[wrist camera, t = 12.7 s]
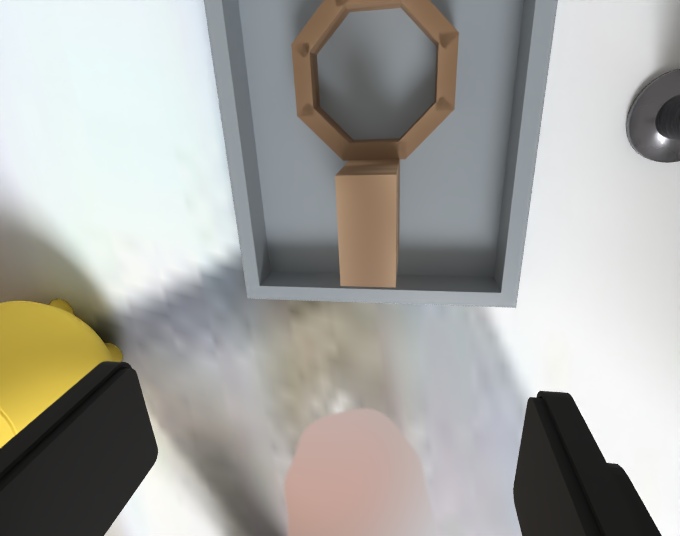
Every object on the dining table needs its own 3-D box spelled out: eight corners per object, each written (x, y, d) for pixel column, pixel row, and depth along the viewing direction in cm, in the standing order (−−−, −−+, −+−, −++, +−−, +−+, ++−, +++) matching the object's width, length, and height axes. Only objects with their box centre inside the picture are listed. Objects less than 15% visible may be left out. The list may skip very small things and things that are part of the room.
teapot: (-54, 321, 39) (-223, 404, 29) (12, 224, 34) (-168, 284, 23) (109, 453, 43) (12, 569, 32) (193, 386, 37) (108, 500, 27)
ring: (458, -20, 22) (477, -65, 16) (444, 244, 28) (453, 288, 22) (295, -5, 24) (253, -40, 17) (314, 243, 29) (287, 284, 23)
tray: (555, -113, 20) (577, -144, 18) (506, 287, 29) (515, 307, 26) (216, -71, 23) (190, -93, 21) (261, 280, 32) (247, 298, 29)
